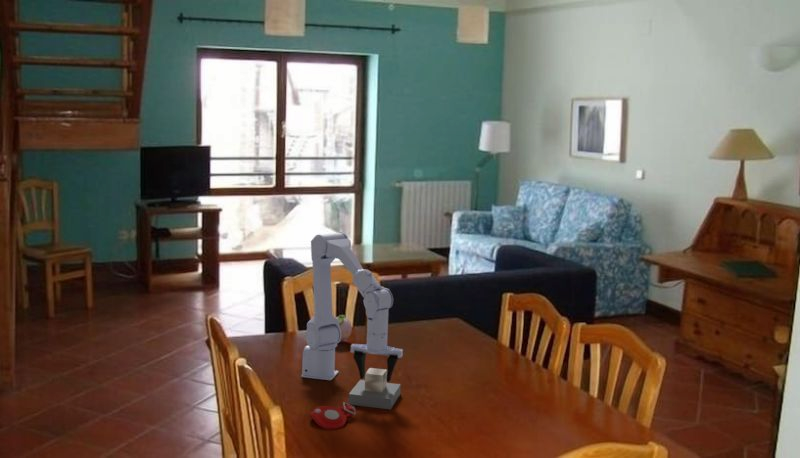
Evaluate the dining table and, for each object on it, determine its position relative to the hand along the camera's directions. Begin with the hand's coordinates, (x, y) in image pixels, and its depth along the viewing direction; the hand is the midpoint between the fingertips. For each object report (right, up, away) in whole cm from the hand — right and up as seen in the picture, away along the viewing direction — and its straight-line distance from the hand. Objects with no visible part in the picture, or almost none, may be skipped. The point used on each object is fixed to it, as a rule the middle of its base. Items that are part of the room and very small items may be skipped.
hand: (375, 379), depth 224 cm
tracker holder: (-10, -9, -15) cm, 20 cm away
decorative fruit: (-14, +3, +53) cm, 54 cm away
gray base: (0, -6, +1) cm, 6 cm away
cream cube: (0, -3, +1) cm, 3 cm away
